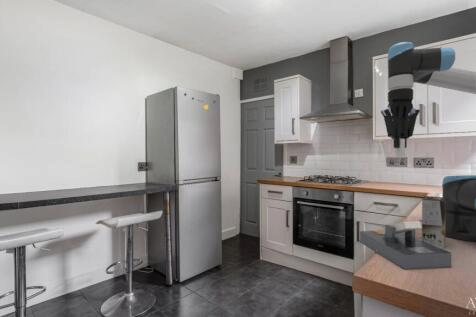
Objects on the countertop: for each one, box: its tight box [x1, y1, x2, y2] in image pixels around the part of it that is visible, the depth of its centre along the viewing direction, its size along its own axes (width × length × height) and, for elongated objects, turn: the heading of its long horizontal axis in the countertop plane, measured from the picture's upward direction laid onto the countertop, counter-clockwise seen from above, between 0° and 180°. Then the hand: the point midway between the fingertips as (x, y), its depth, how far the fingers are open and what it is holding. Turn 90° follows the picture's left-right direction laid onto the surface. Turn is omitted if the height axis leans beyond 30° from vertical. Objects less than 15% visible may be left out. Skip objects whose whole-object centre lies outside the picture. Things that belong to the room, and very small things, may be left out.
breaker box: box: [359, 224, 452, 270], centre depth 83 cm, size 14×22×9 cm, turn 5°
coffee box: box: [421, 195, 446, 249], centre depth 92 cm, size 9×6×16 cm
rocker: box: [380, 220, 422, 235], centre depth 83 cm, size 5×12×2 cm, turn 5°
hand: (400, 157), depth 91 cm, fingers closed
